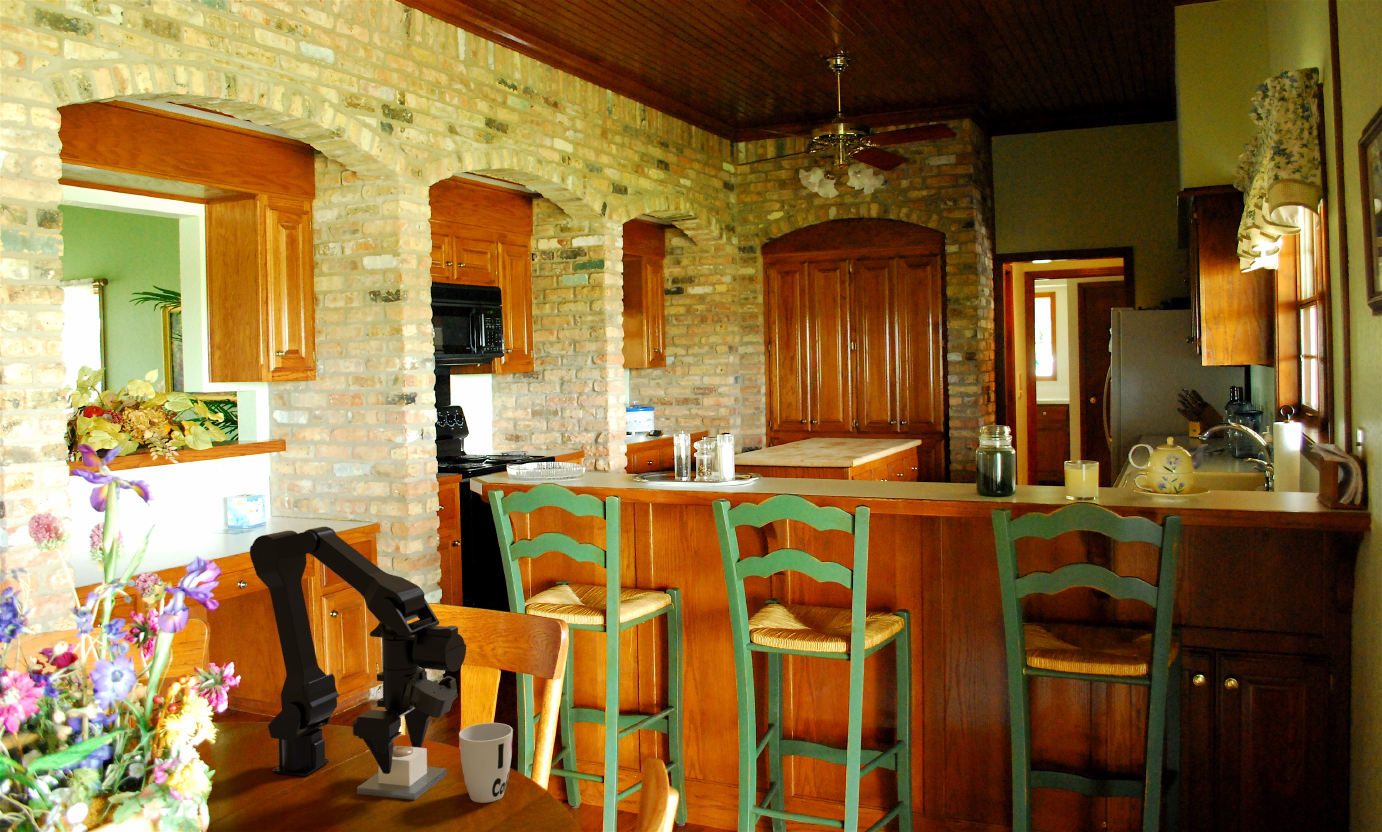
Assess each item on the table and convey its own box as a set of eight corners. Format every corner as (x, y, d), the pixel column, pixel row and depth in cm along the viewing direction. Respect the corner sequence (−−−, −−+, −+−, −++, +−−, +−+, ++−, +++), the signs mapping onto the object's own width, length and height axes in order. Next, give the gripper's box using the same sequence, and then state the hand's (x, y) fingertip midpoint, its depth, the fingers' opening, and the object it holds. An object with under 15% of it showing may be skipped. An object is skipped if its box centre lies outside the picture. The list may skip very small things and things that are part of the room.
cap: (378, 782, 154) (378, 755, 154) (397, 769, 159) (396, 743, 159) (409, 786, 152) (409, 758, 152) (427, 772, 158) (426, 745, 158)
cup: (501, 808, 146) (500, 742, 146) (450, 804, 148) (449, 739, 148) (521, 787, 154) (520, 724, 154) (473, 783, 156) (472, 721, 156)
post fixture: (357, 793, 152) (356, 768, 152) (391, 769, 162) (391, 745, 162) (415, 799, 150) (414, 774, 150) (446, 774, 159) (446, 750, 159)
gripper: (416, 686, 144) (418, 790, 145) (474, 652, 162) (475, 745, 163) (349, 681, 147) (351, 783, 147) (414, 648, 165) (415, 740, 166)
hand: (402, 762), depth 156 cm, fingers open, 9 cm apart
